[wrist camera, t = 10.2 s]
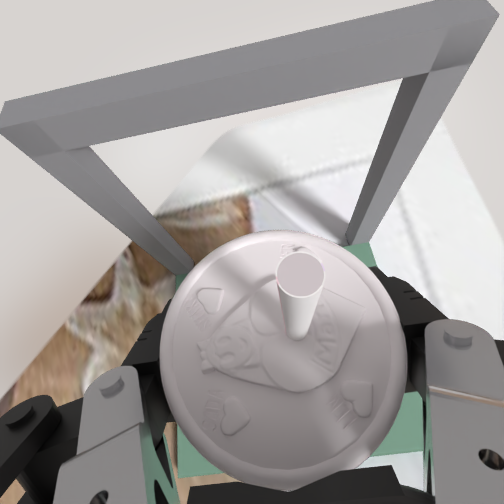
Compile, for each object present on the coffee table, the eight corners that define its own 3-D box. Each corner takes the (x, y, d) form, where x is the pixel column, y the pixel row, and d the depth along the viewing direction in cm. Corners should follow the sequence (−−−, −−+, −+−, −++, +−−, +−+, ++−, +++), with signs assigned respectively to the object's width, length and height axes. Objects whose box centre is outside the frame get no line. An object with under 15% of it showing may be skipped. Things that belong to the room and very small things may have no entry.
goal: (181, 474, 16) (-290, 905, 3) (178, 263, 21) (4, 101, 8) (433, 446, 15) (1344, 935, 2) (361, 231, 20) (477, -10, 7)
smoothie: (362, 403, 14) (893, 626, 2) (245, 437, 14) (-100, 891, 2) (318, 289, 17) (392, 46, 4) (220, 319, 17) (14, 162, 4)
